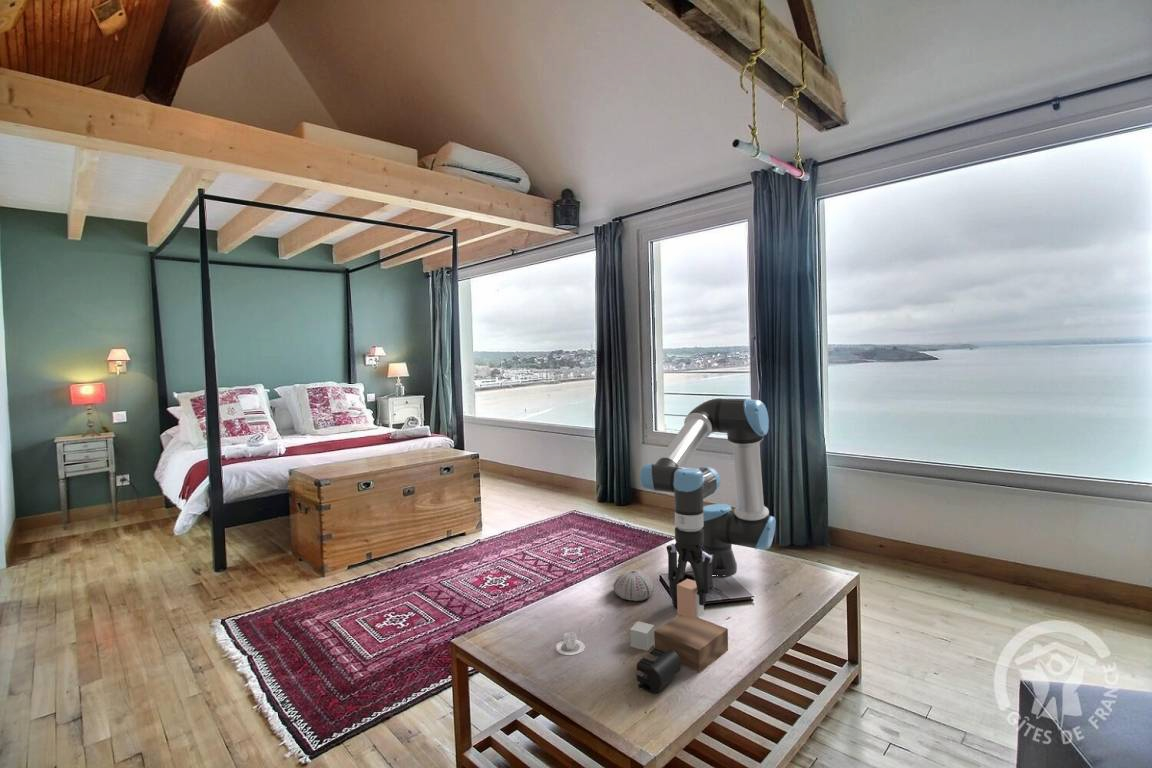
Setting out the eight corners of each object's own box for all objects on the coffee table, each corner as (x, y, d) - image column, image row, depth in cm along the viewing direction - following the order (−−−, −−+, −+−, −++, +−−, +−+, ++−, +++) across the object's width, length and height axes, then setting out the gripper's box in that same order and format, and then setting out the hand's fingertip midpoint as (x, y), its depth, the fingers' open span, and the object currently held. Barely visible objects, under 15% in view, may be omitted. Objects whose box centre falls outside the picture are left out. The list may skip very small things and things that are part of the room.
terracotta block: (688, 606, 152) (687, 578, 152) (703, 612, 149) (703, 583, 148) (677, 613, 149) (676, 584, 148) (693, 619, 145) (692, 589, 145)
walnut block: (684, 632, 159) (683, 612, 159) (728, 650, 149) (727, 628, 149) (654, 652, 150) (654, 630, 149) (699, 673, 140) (699, 650, 139)
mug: (693, 621, 165) (693, 590, 165) (664, 606, 175) (663, 577, 174) (711, 612, 171) (710, 582, 170) (681, 598, 180) (681, 570, 179)
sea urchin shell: (629, 582, 194) (628, 560, 193) (662, 593, 185) (661, 570, 184) (605, 596, 184) (604, 573, 183) (639, 608, 175) (638, 583, 174)
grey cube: (637, 638, 157) (637, 621, 157) (654, 642, 155) (653, 625, 154) (630, 646, 153) (630, 629, 153) (647, 651, 150) (646, 633, 150)
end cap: (661, 699, 130) (661, 671, 130) (636, 688, 134) (635, 661, 134) (682, 678, 138) (681, 652, 137) (657, 668, 142) (656, 643, 142)
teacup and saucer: (566, 637, 159) (565, 623, 159) (590, 643, 156) (590, 629, 155) (550, 652, 152) (550, 638, 151) (576, 659, 148) (575, 644, 148)
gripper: (653, 523, 151) (654, 606, 152) (711, 538, 138) (712, 628, 140) (669, 517, 156) (670, 597, 158) (726, 530, 143) (727, 618, 145)
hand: (690, 611), depth 149 cm, fingers closed on terracotta block, 5 cm apart
